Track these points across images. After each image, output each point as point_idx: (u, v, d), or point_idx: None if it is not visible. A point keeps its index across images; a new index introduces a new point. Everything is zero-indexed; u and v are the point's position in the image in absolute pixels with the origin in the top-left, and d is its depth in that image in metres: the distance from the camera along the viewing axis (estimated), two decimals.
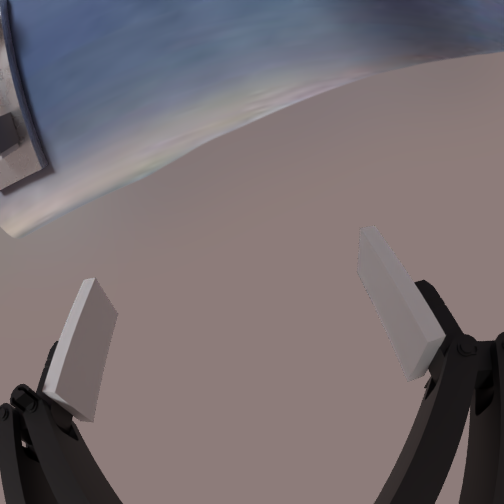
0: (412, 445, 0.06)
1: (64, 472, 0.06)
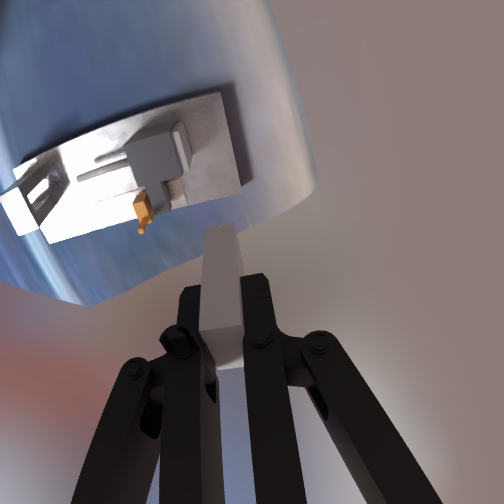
0: None
1: (189, 444, 0.07)
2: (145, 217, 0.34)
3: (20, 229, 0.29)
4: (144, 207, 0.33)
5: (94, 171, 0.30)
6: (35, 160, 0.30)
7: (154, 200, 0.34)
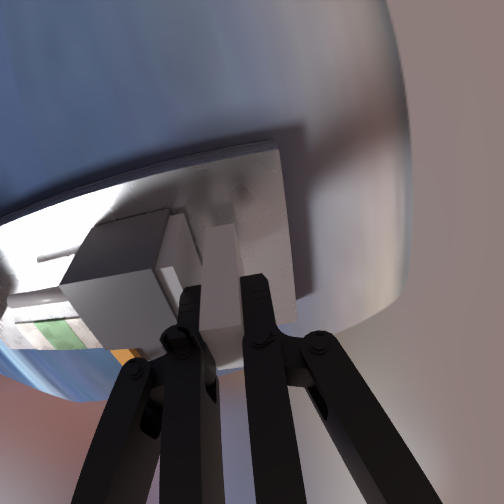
0: None
1: (189, 444, 0.07)
2: None
3: None
4: (130, 355, 0.18)
5: (30, 298, 0.15)
6: None
7: None
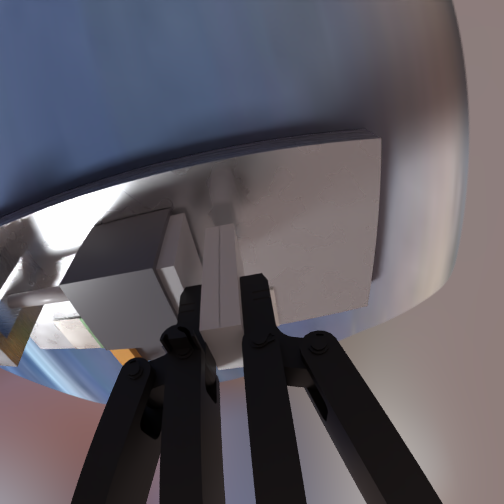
0: None
1: (190, 444, 0.07)
2: None
3: None
4: (130, 355, 0.18)
5: (30, 298, 0.15)
6: None
7: None
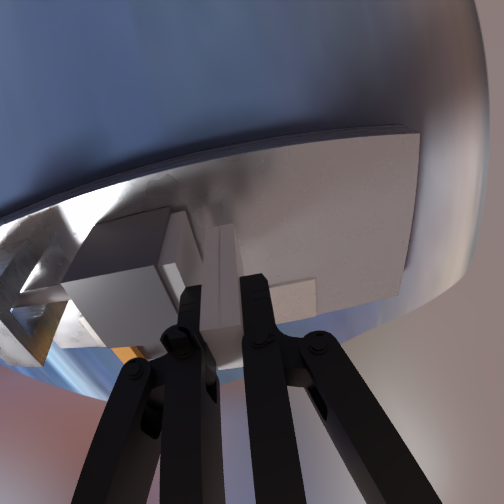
0: None
1: (190, 444, 0.07)
2: None
3: (8, 358, 0.14)
4: (131, 354, 0.18)
5: (31, 297, 0.15)
6: (17, 225, 0.15)
7: None
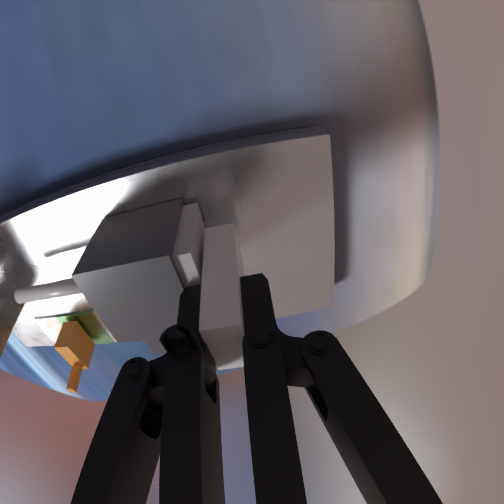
0: None
1: (189, 444, 0.07)
2: (77, 363, 0.19)
3: None
4: (71, 353, 0.19)
5: (38, 291, 0.15)
6: None
7: None
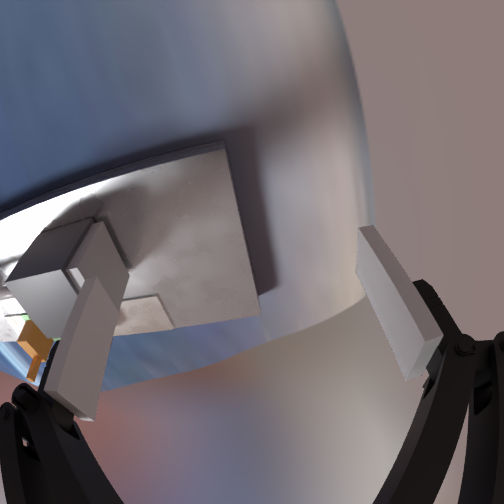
0: (410, 445, 0.06)
1: (65, 471, 0.06)
2: (36, 356, 0.20)
3: None
4: (30, 347, 0.19)
5: None
6: None
7: None
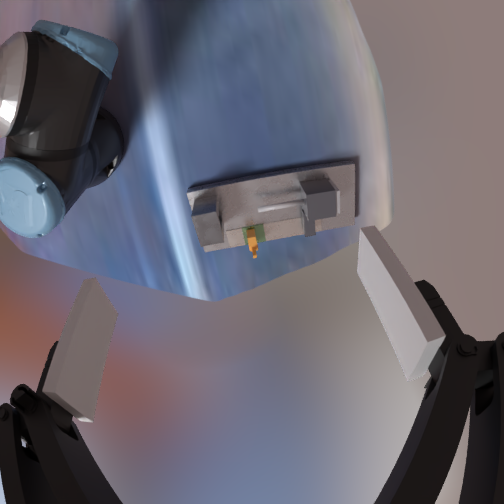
0: (412, 445, 0.06)
1: (64, 472, 0.06)
2: (254, 246, 0.55)
3: (204, 242, 0.50)
4: (255, 240, 0.54)
5: (273, 206, 0.50)
6: (213, 189, 0.51)
7: (308, 227, 0.54)
